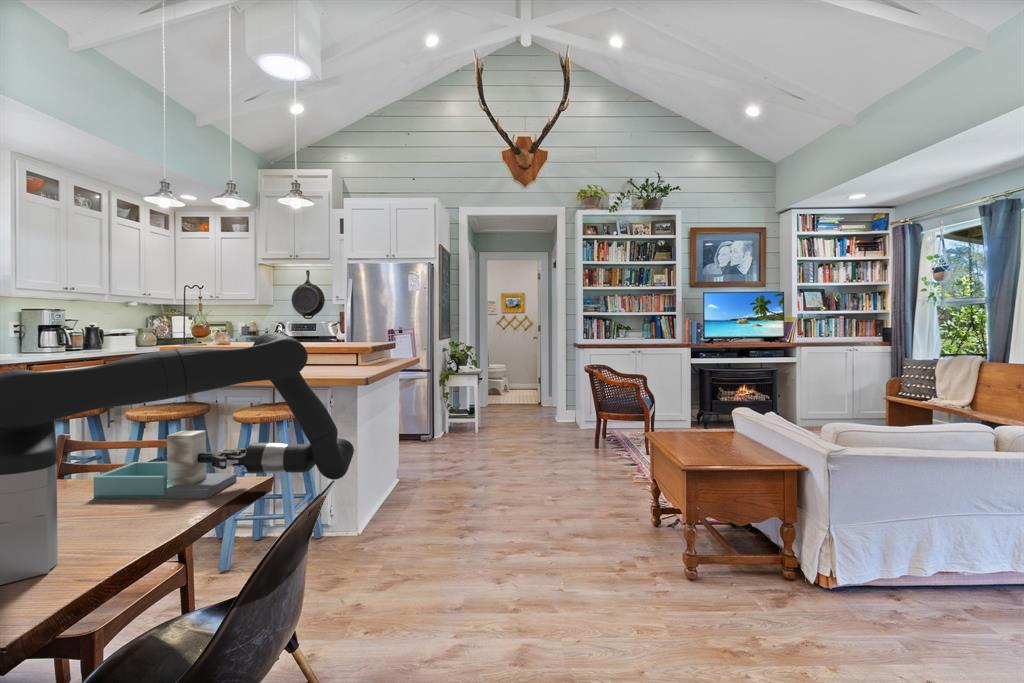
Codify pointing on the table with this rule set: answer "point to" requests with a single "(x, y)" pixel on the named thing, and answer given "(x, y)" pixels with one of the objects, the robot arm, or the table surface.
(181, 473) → the block
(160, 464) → the box
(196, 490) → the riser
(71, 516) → the table surface
